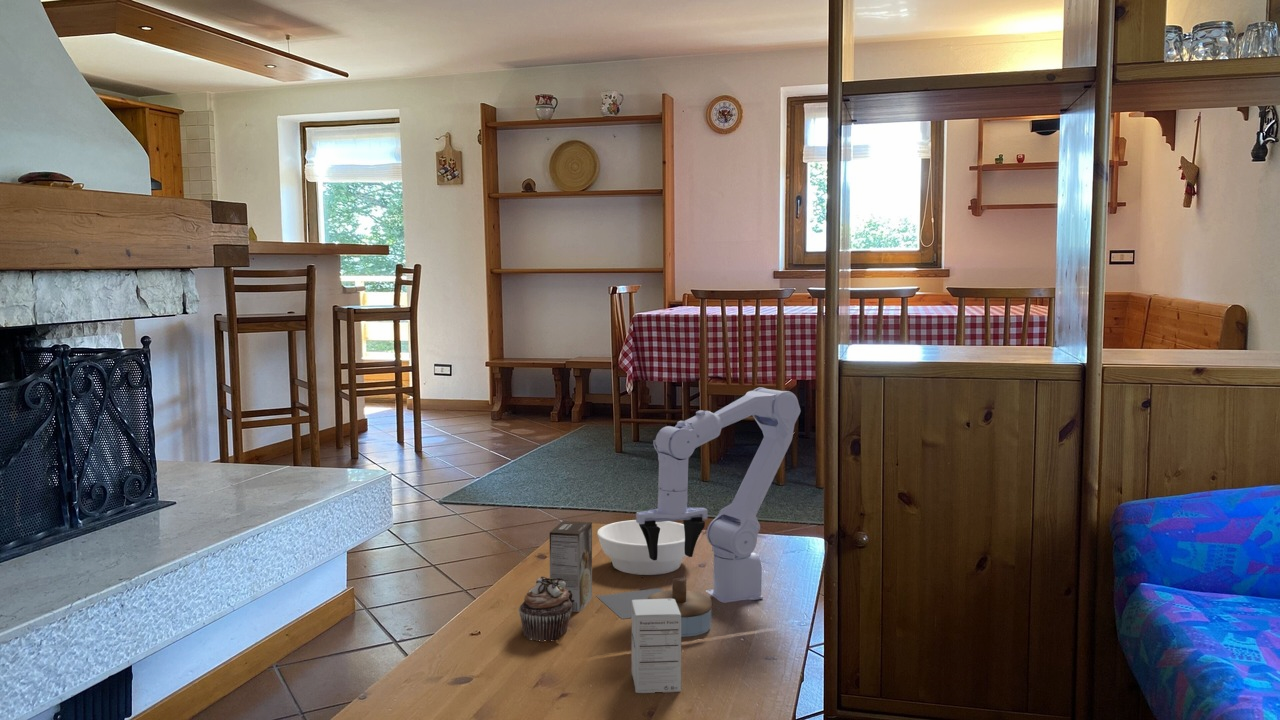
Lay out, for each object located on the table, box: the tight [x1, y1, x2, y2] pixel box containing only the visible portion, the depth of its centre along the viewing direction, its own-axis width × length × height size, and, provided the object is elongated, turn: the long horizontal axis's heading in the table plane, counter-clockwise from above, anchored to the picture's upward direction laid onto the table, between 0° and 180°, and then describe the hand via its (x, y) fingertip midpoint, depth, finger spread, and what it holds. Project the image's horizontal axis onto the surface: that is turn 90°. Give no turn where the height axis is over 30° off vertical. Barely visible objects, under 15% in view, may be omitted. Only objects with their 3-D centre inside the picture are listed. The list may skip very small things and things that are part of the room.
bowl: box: [596, 519, 688, 576], centre depth 205 cm, size 22×22×8 cm
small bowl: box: [681, 609, 712, 638], centre depth 168 cm, size 11×11×4 cm
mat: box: [595, 587, 664, 620], centre depth 180 cm, size 14×14×1 cm
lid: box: [648, 577, 712, 617], centre depth 168 cm, size 12×12×5 cm
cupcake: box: [518, 576, 572, 642], centre depth 165 cm, size 10×10×10 cm
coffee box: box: [549, 520, 593, 613], centre depth 179 cm, size 9×6×16 cm
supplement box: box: [631, 599, 682, 694], centre depth 144 cm, size 7×7×13 cm
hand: (671, 557), depth 177 cm, fingers open, 7 cm apart
